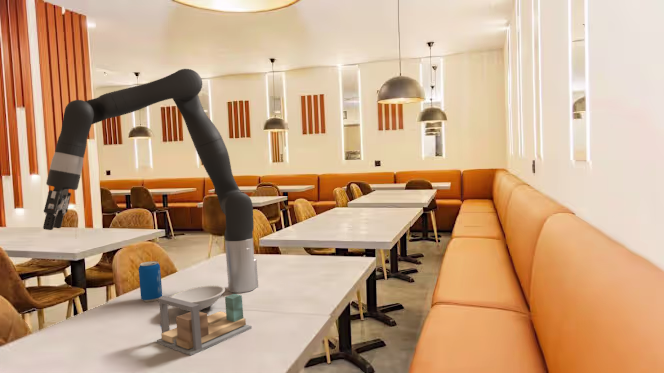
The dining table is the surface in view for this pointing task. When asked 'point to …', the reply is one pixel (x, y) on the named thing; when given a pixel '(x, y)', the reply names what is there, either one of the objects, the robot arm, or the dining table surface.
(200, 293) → the dish
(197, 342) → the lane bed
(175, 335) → the far strip
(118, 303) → the dining table surface
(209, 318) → the light wood block
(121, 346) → the dining table surface
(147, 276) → the beverage can
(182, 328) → the walnut block
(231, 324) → the strip
